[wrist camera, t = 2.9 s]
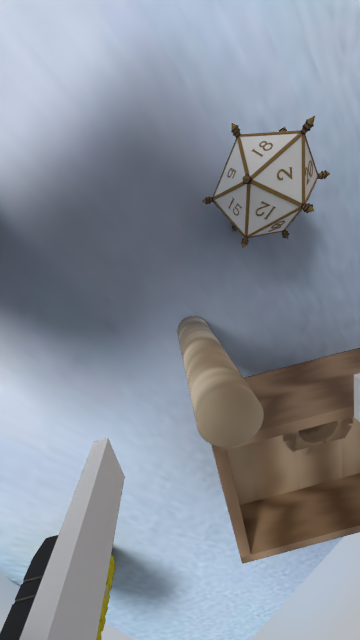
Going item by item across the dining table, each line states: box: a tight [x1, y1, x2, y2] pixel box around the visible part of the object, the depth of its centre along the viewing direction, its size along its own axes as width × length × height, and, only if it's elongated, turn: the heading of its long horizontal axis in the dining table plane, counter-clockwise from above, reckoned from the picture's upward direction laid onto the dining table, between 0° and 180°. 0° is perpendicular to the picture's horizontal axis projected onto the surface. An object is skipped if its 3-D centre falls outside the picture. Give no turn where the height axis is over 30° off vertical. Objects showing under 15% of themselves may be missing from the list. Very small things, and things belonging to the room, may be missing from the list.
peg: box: [177, 316, 264, 447], centre depth 18 cm, size 4×4×14 cm
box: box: [211, 348, 360, 564], centre depth 26 cm, size 26×18×8 cm
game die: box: [202, 116, 330, 248], centre depth 18 cm, size 9×8×10 cm
